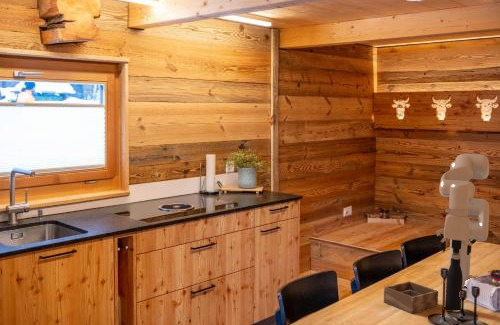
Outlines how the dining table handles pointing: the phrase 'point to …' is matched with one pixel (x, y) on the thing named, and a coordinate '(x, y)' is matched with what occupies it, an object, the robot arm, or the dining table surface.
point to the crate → (410, 297)
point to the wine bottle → (454, 279)
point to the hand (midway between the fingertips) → (456, 252)
